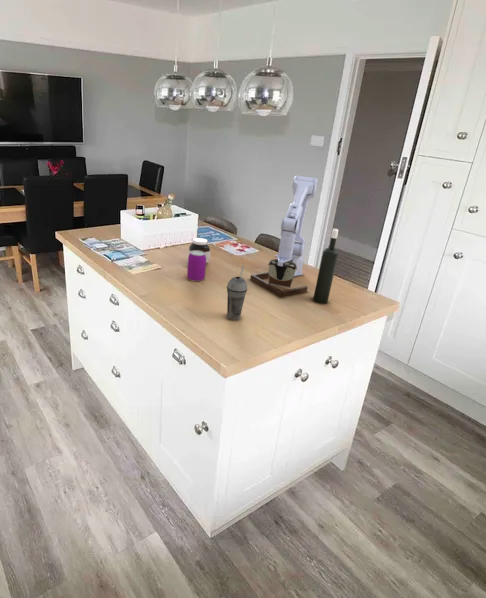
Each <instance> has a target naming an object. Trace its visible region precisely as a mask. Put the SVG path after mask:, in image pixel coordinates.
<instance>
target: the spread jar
mask: <svg viewBox="0 0 486 598" xmlns="http://www.w3.org/2000/svg"><path fill="white" fill-rule="evenodd" d="M194 250H199V251H203V252H205V256H206V265H207V264H208V263H209V262H210V258H211V248H210V246H209V244H208V239H207V238H203V237H195V238H193V239H192V243H191V244H190V245H189V246H188V252H187V254H188V255H187V257H188V256H189V254H190V252H191V251H194Z"/></svg>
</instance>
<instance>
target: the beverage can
mask: <svg viewBox="0 0 486 598" xmlns="http://www.w3.org/2000/svg"><path fill="white" fill-rule="evenodd" d="M206 265H207V264H206V256H205V252H203V251H199V250H194V251H191V252H190V254H189V256H188V255H187V271H186V272H187V273H186V278H187V279H188V280H189V281H191V282H196V283H197V282H202V281H203V280H204V279H205V277H206V267H207V266H206Z"/></svg>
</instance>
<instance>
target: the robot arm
mask: <svg viewBox="0 0 486 598" xmlns="http://www.w3.org/2000/svg"><path fill="white" fill-rule="evenodd" d="M318 181H319V180H318V178H317V177H309V176H301V175H294V177H293V179H292V193H293V195H294V197H293V202H292V203H290V204H289V205H288V208H287V211H286V214H285V216H284V217H283V218H282V221H281V223H280V240H279V247H278V254H275V255H274V257H275V258H276V259H278V263H277V262H276V263H275V268H276V273H277V279H278V280H282V279H283V276H284V273H285V271H286V269H287V267H288V265H285V264H284V263H285V262H288V261H292V262H294V263H295V264H296V265H297V269H296V271H295V274H294V277H297V276H303V275H304V273H303V268H304V262H305V260H304V257H303V255H304V253H305V247H306V240H305V238H304V237H303V236H302V230H303V226H304V222H305V217H306V213H307V208H308V204H309V201H310V200H311V199H313V198H314V197H315V195H316V192H317V188H318Z"/></svg>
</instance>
